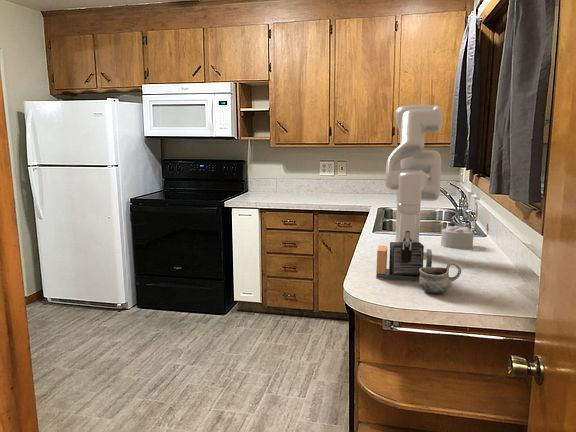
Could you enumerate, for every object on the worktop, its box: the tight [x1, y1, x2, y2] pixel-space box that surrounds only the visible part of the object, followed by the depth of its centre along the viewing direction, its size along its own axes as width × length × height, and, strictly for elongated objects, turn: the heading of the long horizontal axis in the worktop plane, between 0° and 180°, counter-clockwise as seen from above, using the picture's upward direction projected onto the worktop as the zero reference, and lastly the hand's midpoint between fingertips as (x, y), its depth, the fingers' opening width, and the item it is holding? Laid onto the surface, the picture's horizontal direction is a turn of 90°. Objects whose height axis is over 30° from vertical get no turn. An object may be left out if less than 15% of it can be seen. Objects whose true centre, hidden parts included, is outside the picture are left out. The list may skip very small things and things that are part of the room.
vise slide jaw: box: [376, 245, 388, 274], centre depth 167 cm, size 8×3×8 cm, turn 166°
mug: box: [419, 261, 462, 294], centre depth 150 cm, size 10×12×10 cm
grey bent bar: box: [375, 248, 433, 283], centre depth 165 cm, size 8×18×10 cm, turn 76°
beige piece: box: [440, 225, 474, 250], centre depth 212 cm, size 10×13×9 cm
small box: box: [388, 241, 425, 275], centre depth 165 cm, size 11×6×10 cm, turn 89°
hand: (406, 257), depth 165 cm, fingers open, 9 cm apart
